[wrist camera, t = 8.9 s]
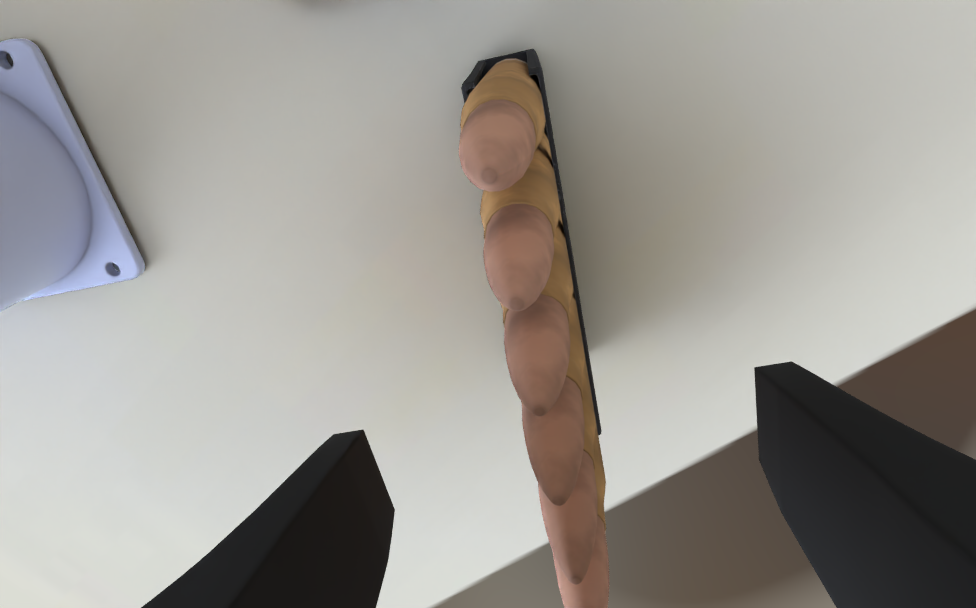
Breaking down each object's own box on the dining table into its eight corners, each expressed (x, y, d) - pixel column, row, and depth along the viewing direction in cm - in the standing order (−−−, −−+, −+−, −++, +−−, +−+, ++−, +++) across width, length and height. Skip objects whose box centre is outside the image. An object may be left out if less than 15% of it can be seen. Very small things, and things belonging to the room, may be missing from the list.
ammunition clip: (475, 62, 18) (394, 111, 7) (536, 47, 17) (552, 76, 6) (537, 362, 22) (548, 687, 11) (586, 354, 22) (647, 680, 11)
